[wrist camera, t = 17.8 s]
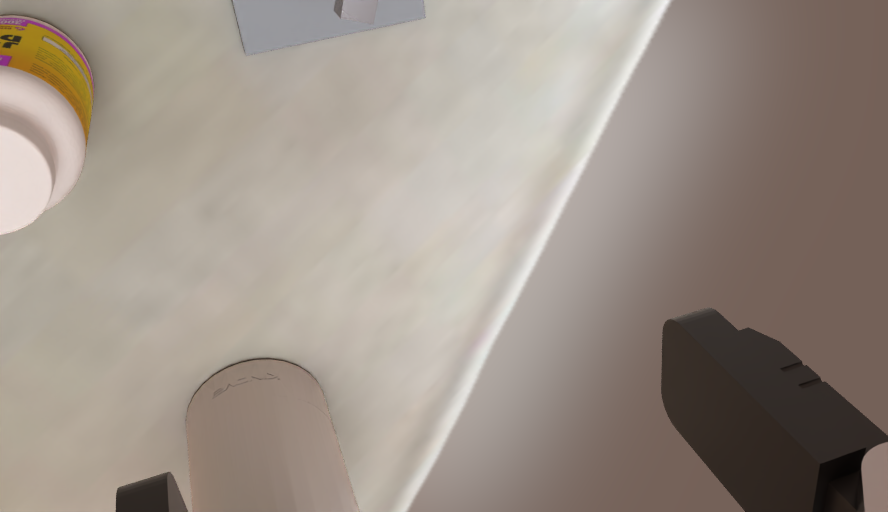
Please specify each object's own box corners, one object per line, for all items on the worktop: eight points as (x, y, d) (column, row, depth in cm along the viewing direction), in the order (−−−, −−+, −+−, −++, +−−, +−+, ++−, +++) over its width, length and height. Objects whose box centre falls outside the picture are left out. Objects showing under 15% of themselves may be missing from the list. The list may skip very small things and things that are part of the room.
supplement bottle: (38, -14, 41) (5, 62, 30) (121, 101, 44) (118, 204, 34) (-86, 53, 40) (-164, 154, 30) (8, 163, 44) (-31, 287, 34)
